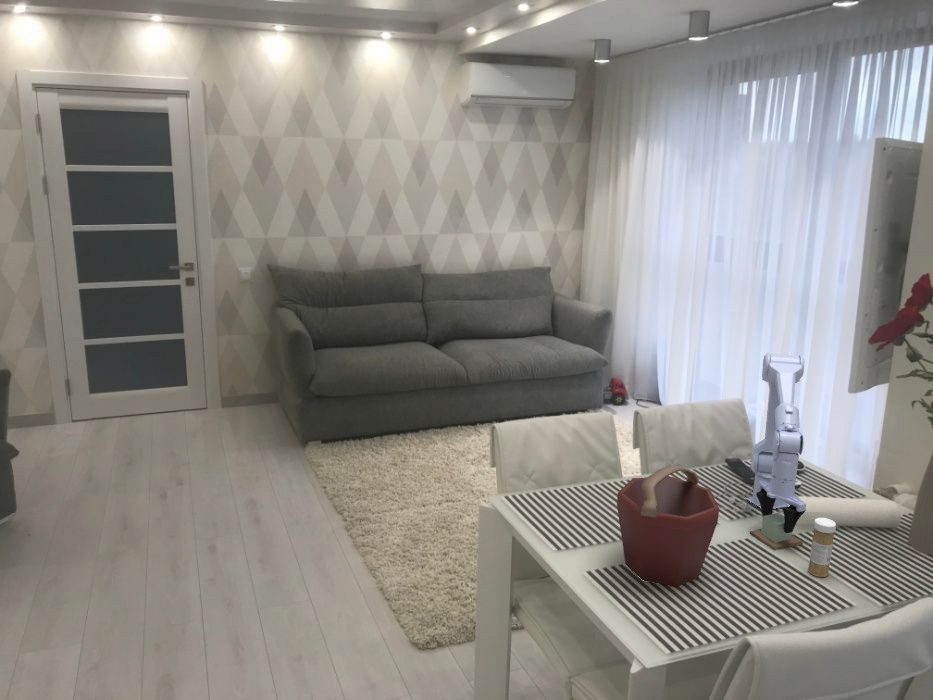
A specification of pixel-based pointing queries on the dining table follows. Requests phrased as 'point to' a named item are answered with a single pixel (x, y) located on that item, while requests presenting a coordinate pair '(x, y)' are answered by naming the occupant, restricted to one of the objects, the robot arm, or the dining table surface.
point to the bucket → (666, 526)
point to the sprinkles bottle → (821, 547)
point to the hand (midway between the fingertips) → (777, 525)
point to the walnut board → (777, 545)
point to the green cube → (774, 528)
